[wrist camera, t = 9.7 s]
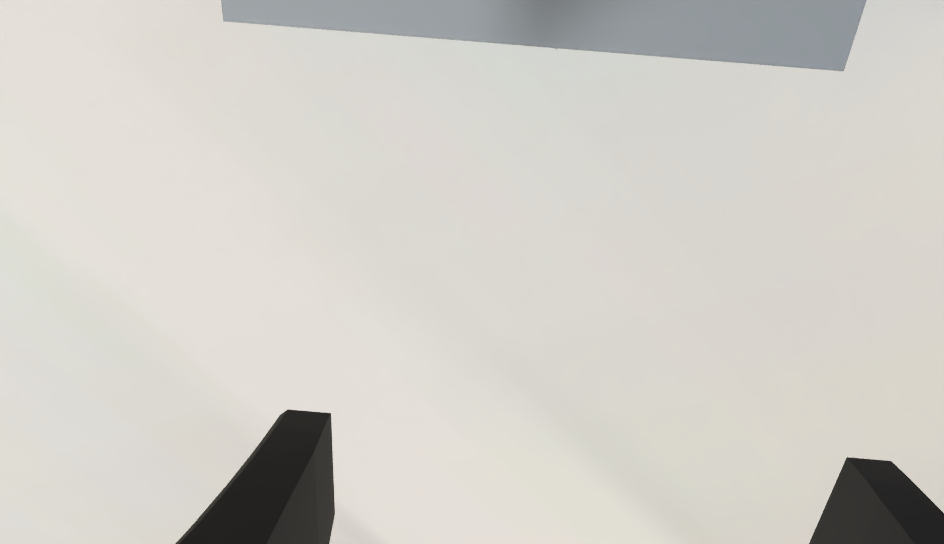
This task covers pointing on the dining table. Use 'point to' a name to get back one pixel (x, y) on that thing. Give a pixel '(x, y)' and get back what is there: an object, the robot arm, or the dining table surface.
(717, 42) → the slate plinth
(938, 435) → the dining table surface
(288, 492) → the robot arm
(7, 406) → the dining table surface
